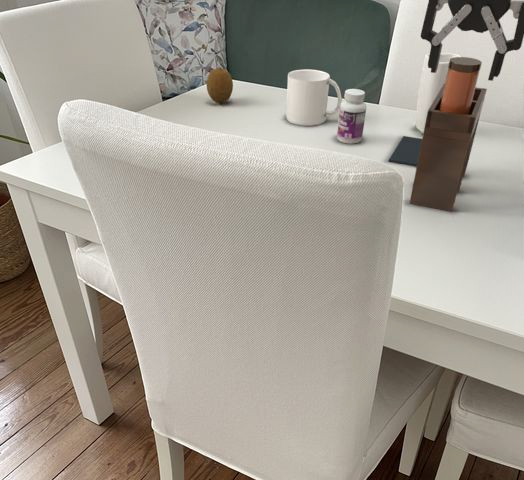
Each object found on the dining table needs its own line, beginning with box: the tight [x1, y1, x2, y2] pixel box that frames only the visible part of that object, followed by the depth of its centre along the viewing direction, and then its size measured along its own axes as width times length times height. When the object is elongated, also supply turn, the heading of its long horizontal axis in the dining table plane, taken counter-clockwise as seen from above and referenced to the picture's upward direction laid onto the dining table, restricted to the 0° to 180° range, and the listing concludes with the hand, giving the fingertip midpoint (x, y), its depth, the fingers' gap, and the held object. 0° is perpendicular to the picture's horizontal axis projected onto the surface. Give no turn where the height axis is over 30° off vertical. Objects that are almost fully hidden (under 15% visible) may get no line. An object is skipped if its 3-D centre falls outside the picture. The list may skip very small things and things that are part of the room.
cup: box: [415, 52, 462, 135], centre depth 119 cm, size 7×7×15 cm
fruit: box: [206, 66, 234, 105], centre depth 134 cm, size 6×6×8 cm
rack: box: [409, 83, 488, 212], centre depth 97 cm, size 7×16×16 cm, turn 157°
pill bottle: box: [336, 88, 367, 145], centre depth 117 cm, size 5×5×10 cm
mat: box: [388, 135, 422, 167], centre depth 115 cm, size 8×14×1 cm, turn 157°
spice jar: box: [439, 56, 483, 115], centre depth 88 cm, size 5×5×9 cm
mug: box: [285, 68, 343, 127], centre depth 126 cm, size 12×9×9 cm
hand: (462, 75), depth 87 cm, fingers open, 8 cm apart
